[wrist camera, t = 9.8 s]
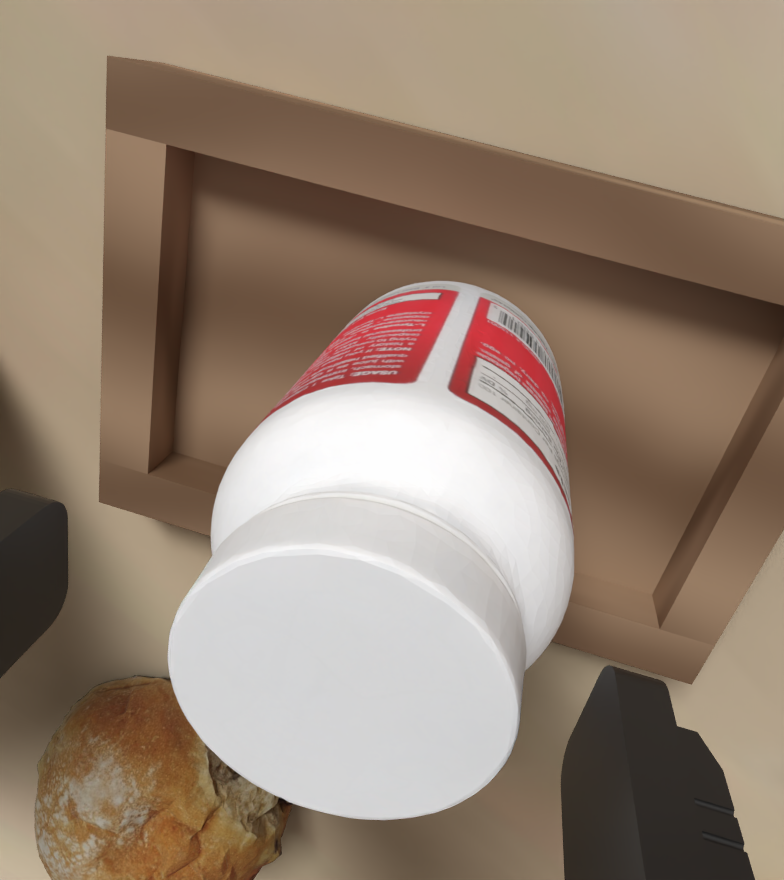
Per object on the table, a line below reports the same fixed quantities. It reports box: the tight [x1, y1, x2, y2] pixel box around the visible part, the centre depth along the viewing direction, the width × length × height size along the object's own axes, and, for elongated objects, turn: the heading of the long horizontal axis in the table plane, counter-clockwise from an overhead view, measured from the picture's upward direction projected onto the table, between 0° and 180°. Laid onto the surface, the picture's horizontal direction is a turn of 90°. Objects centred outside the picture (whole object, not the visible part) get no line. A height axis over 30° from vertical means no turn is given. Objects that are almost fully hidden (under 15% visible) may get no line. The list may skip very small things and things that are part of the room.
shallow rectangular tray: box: [99, 56, 784, 685], centre depth 18 cm, size 12×18×2 cm, turn 77°
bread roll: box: [35, 675, 293, 880], centre depth 27 cm, size 10×10×8 cm
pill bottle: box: [168, 281, 574, 820], centre depth 14 cm, size 6×6×11 cm
